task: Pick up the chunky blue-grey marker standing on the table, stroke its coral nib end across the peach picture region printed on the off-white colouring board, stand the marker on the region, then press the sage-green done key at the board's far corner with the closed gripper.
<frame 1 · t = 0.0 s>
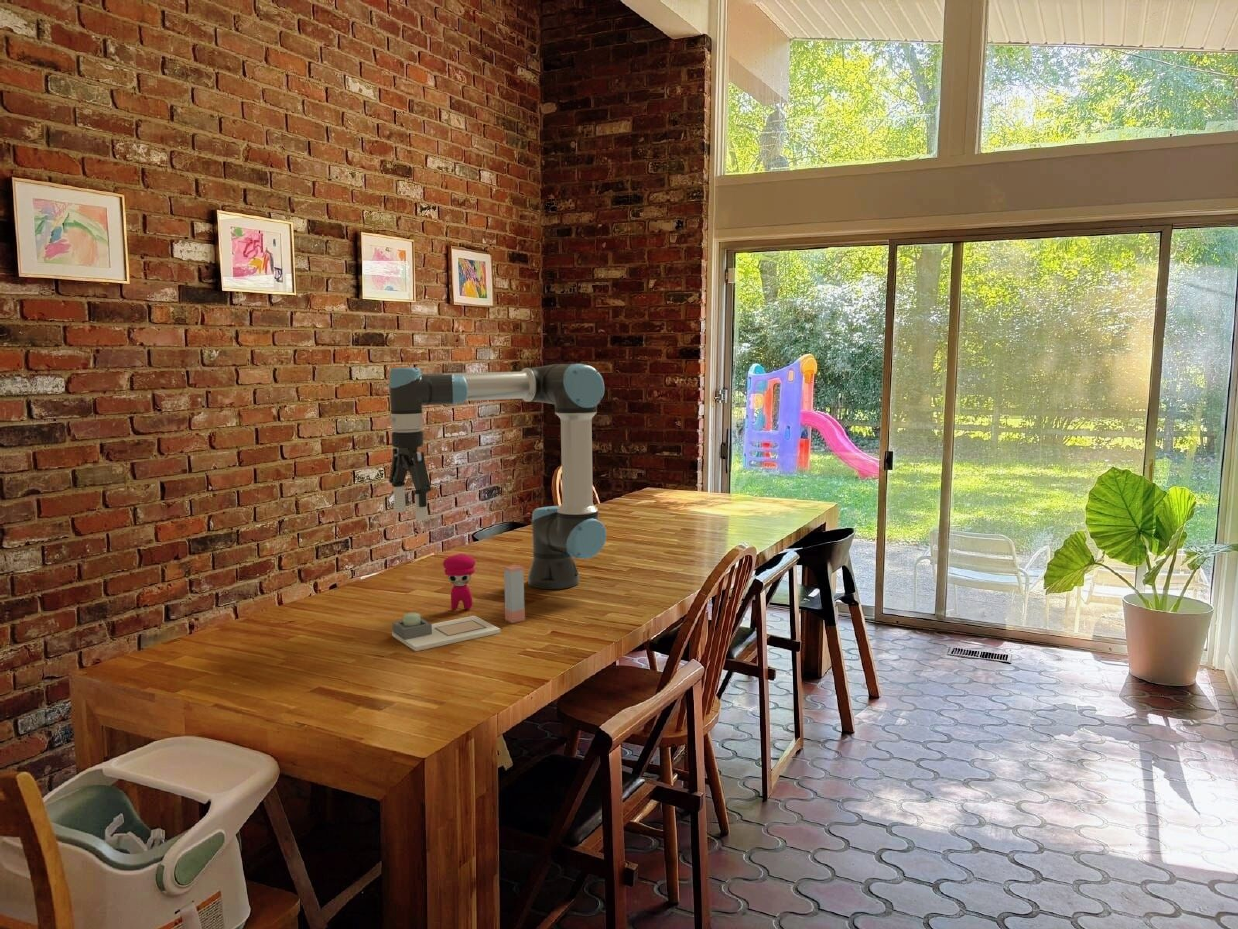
hand: (410, 516, 219), 28 cm above the table, fingers open, 13 cm apart
button: (411, 621, 212), point 4 cm above the table, slide at 0.0 cm
marker: (515, 620, 226), on the table
toy: (460, 610, 235), on the table
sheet: (446, 634, 215), on the table
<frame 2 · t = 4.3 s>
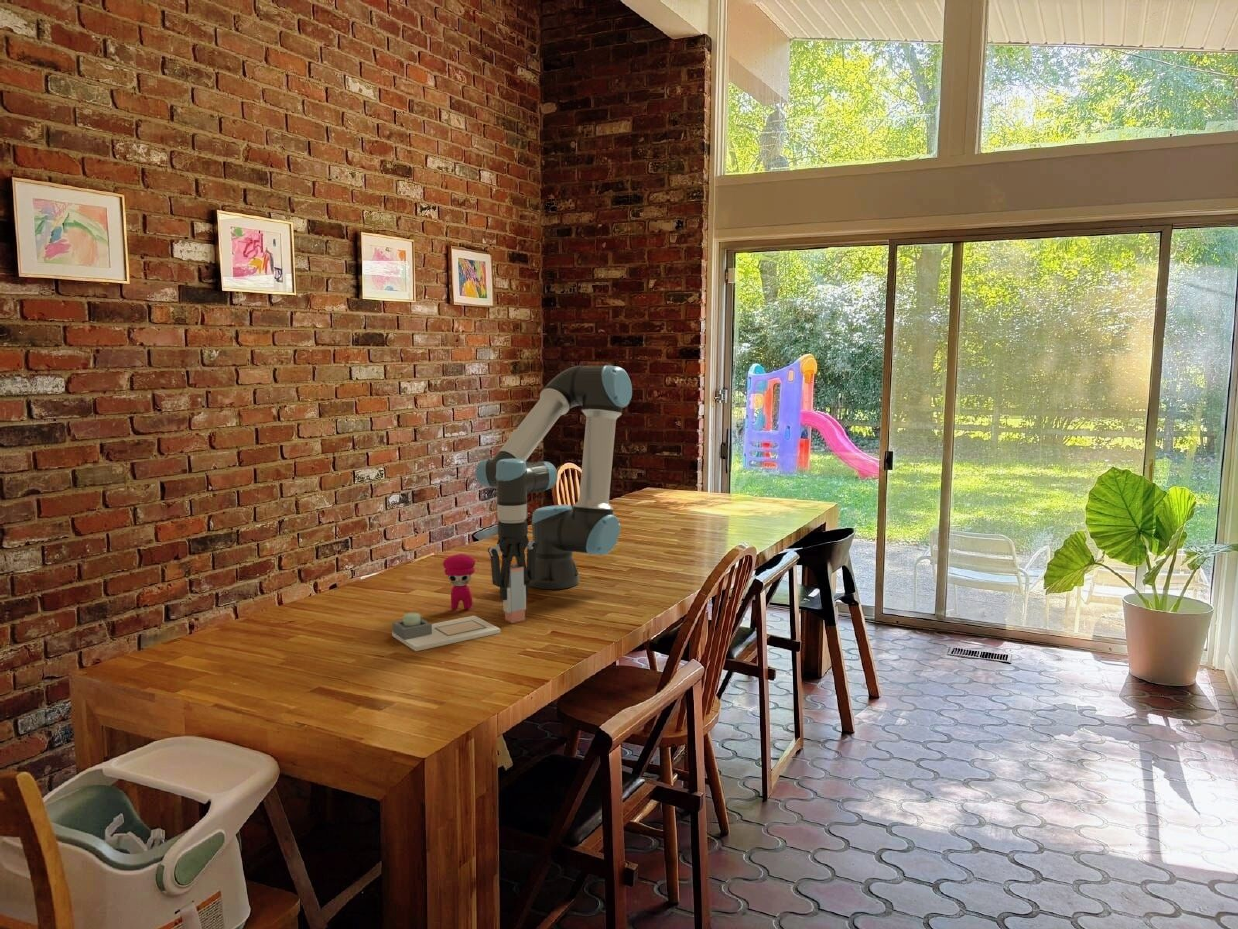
hand: (514, 610, 225), 3 cm above the table, fingers closed on marker, 4 cm apart
marker: (515, 620, 226), on the table, touching gripper
everything else where it was.
when the fingers open (5 cm above the table, at t = 10.5 s): marker drops 1 cm, resting on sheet.
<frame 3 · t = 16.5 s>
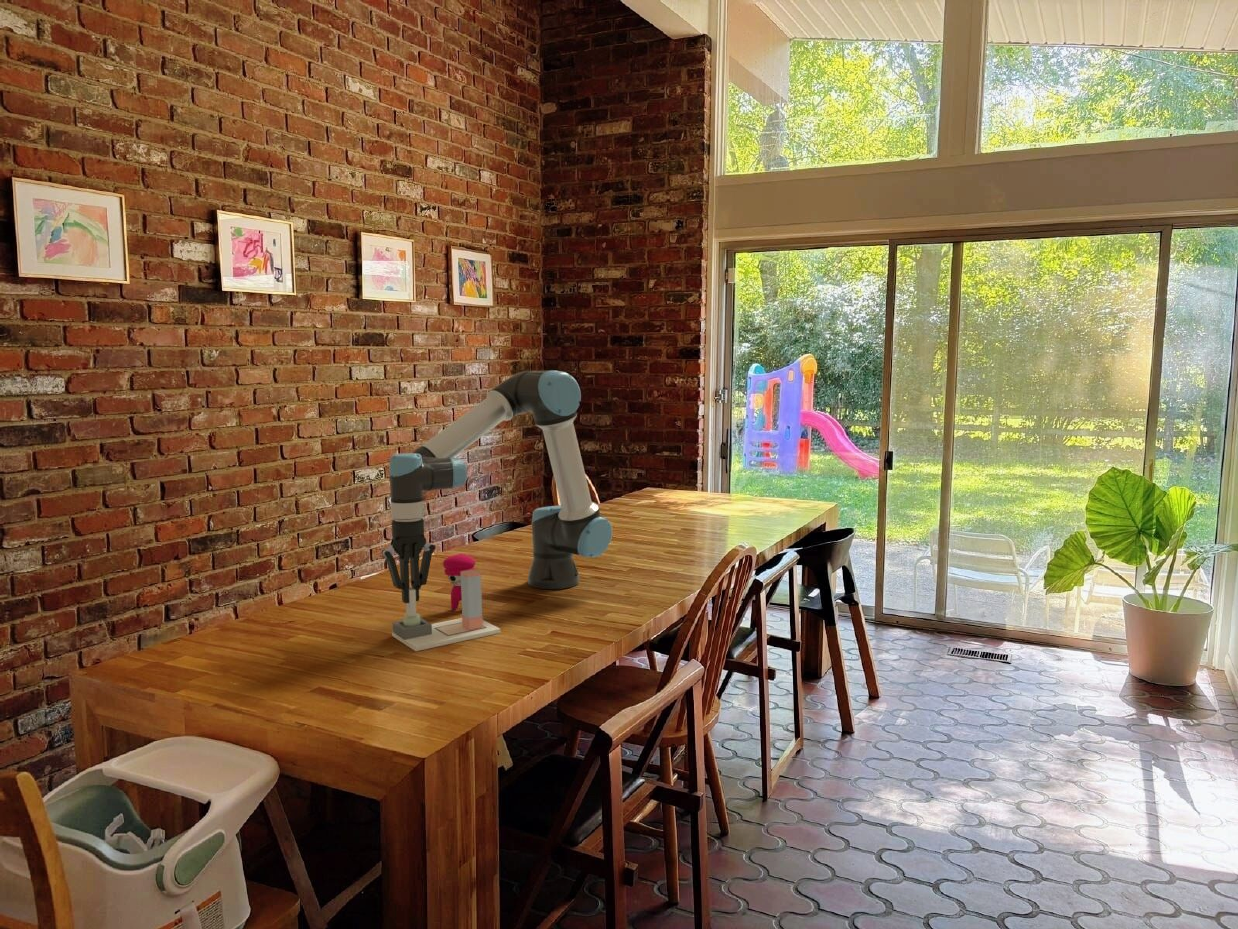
hand: (411, 615, 212), 6 cm above the table, fingers closed
button: (412, 622, 212), point 4 cm above the table, slide at 0.2 cm, touching gripper
marker: (472, 627, 216), point 1 cm above the table, touching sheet
everything else where it was.
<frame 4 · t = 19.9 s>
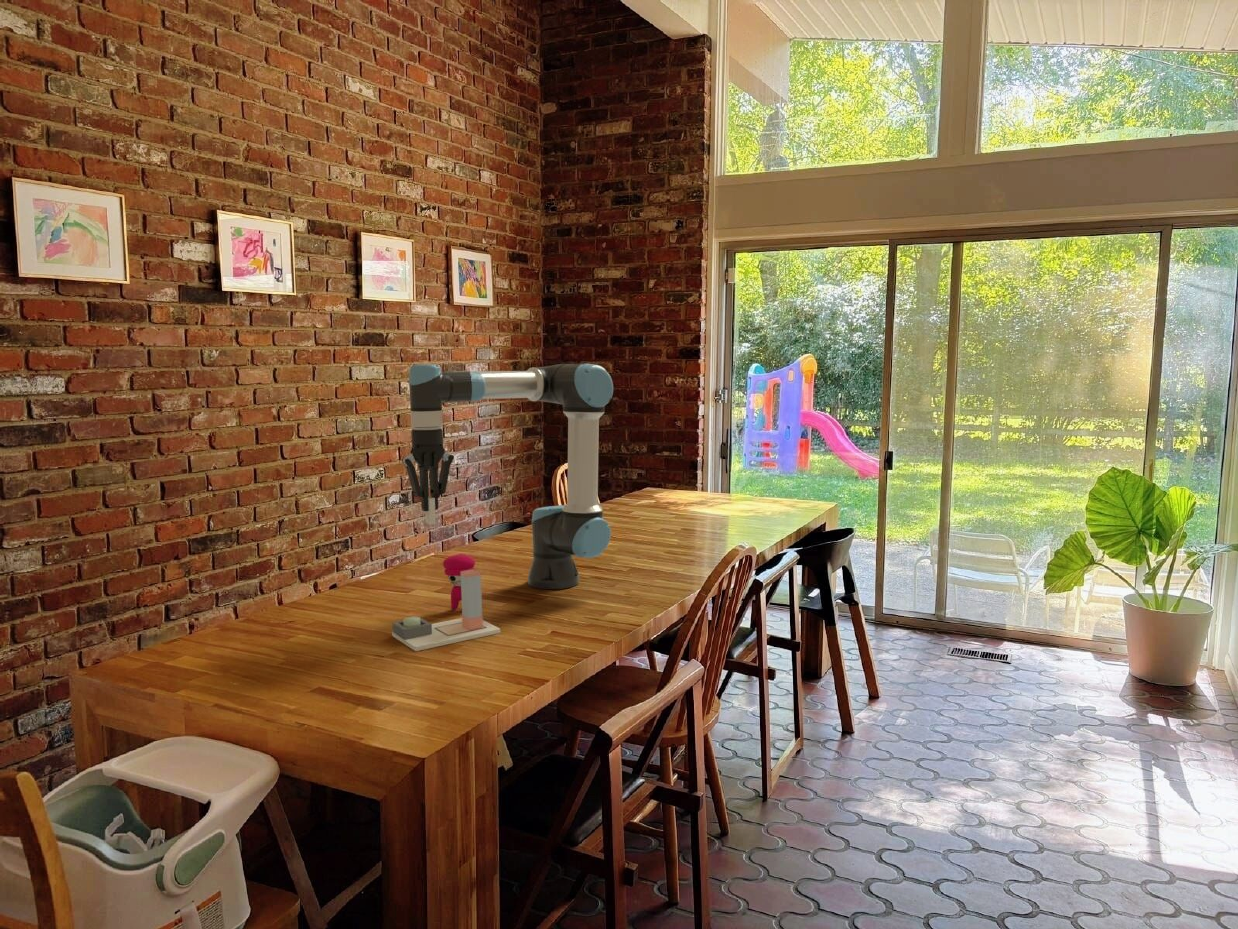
hand: (430, 523, 217), 26 cm above the table, fingers closed
button: (412, 625, 212), point 3 cm above the table, slide at 0.9 cm
everything else where it was.
at the end: button slide at 0.9 cm; marker inside the target area on the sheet (6.3 cm from its centre), point 1.1 cm above the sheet's base; the gripper is holding nothing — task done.
